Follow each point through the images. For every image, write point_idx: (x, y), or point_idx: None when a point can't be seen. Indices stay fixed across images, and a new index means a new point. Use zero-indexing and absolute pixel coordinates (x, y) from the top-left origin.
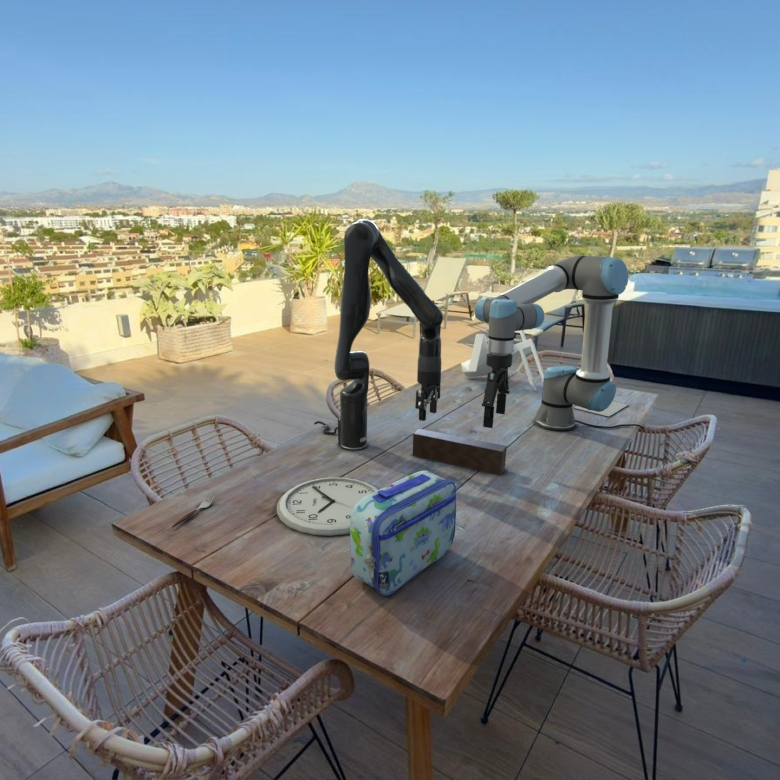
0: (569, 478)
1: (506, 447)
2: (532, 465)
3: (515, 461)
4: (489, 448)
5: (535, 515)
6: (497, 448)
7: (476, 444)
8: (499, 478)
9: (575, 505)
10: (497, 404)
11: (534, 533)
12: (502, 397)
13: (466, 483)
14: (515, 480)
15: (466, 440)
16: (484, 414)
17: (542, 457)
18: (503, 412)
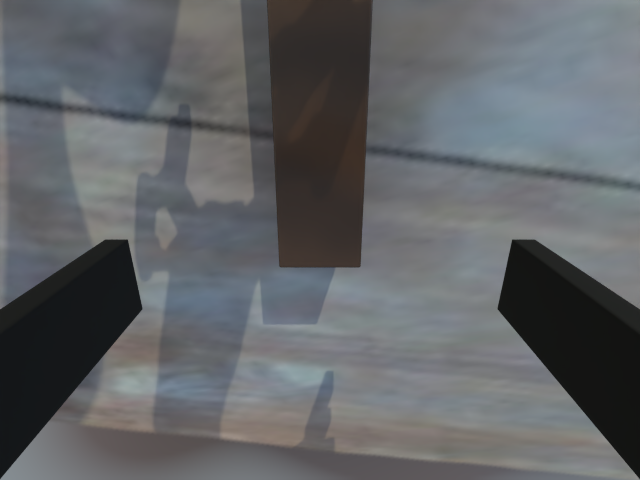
0: (376, 403)
1: (355, 264)
2: (426, 300)
3: (438, 242)
4: (284, 201)
5: (102, 367)
6: (305, 236)
7: (300, 118)
8: (264, 227)
9: (221, 432)
10: (566, 292)
11: None
12: (626, 413)
13: (150, 128)
14: (279, 278)
15: (329, 35)
16: (17, 305)
17: None
18: (508, 312)
